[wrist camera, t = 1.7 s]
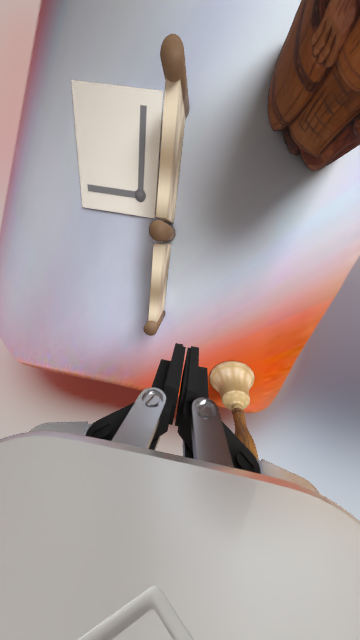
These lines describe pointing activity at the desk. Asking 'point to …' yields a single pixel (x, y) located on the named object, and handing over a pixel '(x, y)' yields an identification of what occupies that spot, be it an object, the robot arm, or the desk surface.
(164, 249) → the fence panel
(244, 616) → the robot arm
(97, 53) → the desk surface
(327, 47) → the wooden figurine
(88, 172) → the card
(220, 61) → the desk surface
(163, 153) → the fence fixed
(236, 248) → the desk surface
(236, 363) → the hand bell
